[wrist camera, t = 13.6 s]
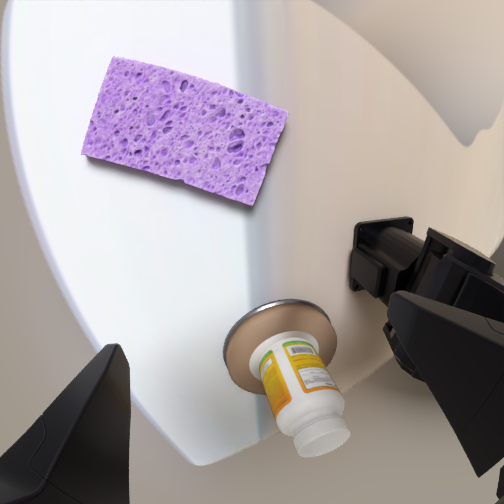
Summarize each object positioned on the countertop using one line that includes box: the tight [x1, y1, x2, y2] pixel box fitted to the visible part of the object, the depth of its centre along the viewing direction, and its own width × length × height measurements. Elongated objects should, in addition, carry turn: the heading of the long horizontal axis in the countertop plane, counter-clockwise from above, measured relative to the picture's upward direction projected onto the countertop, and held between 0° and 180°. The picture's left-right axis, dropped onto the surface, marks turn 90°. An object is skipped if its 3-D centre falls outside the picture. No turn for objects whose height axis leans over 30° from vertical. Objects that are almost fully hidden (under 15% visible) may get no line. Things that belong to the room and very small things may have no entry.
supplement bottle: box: [258, 338, 351, 458], centre depth 20 cm, size 5×5×10 cm
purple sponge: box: [81, 56, 289, 206], centre depth 17 cm, size 7×13×2 cm, turn 69°
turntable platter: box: [226, 303, 337, 395], centre depth 25 cm, size 10×10×2 cm
